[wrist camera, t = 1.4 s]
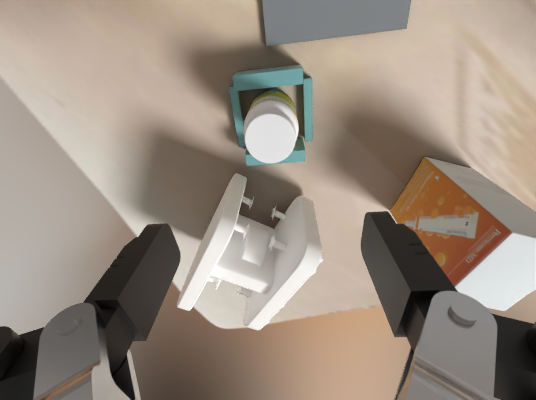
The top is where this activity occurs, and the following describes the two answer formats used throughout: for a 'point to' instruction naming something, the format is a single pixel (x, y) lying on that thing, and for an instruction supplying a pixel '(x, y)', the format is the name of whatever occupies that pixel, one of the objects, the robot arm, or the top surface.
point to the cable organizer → (256, 255)
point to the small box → (472, 231)
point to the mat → (330, 18)
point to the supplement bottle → (271, 127)
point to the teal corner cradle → (267, 80)
